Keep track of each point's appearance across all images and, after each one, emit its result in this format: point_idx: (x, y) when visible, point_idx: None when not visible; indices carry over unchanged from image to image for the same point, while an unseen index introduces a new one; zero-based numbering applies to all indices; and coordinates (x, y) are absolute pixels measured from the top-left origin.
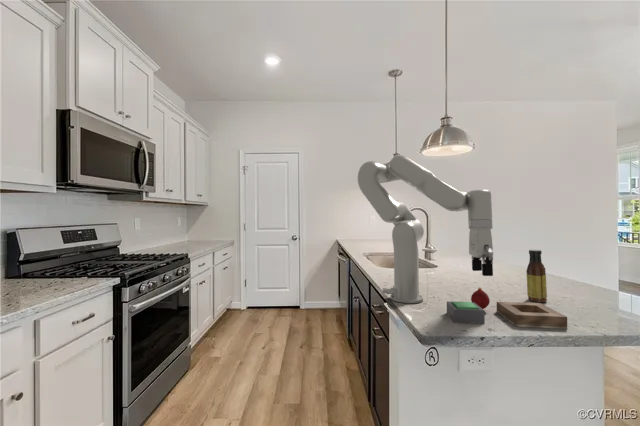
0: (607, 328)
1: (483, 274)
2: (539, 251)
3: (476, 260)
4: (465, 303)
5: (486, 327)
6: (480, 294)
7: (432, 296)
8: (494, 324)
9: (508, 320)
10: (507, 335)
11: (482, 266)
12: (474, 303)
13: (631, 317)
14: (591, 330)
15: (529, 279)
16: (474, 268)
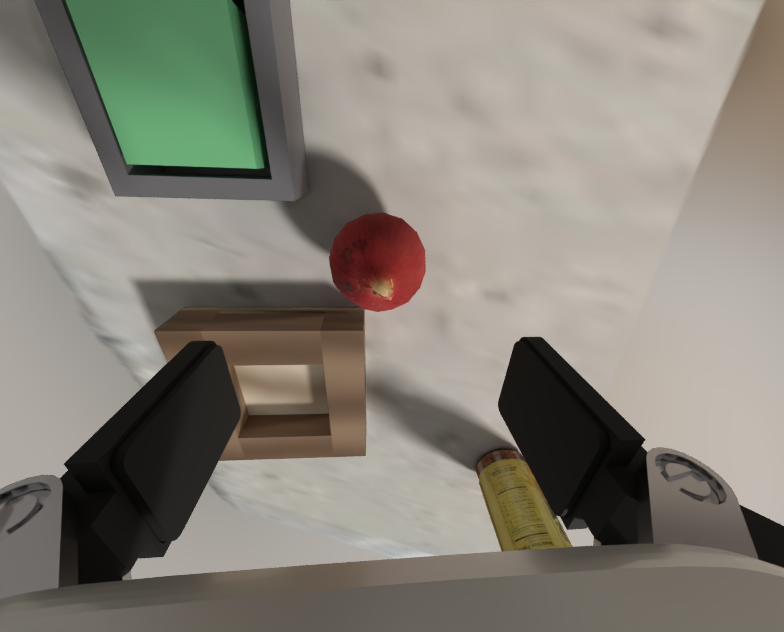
0: (267, 493)
1: (188, 351)
2: None
3: (581, 477)
4: (199, 105)
5: (104, 174)
6: (344, 267)
7: (682, 21)
8: (173, 231)
9: (251, 307)
10: (37, 229)
11: (106, 424)
12: (264, 191)
13: (363, 546)
14: (237, 465)
15: (532, 528)
16: (523, 364)
